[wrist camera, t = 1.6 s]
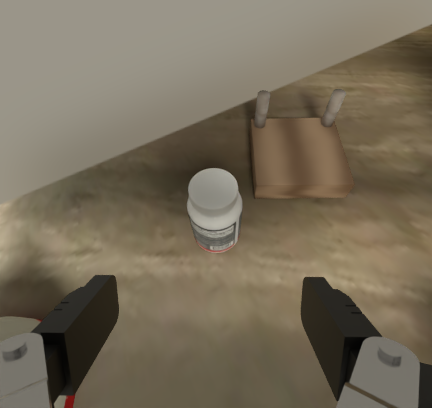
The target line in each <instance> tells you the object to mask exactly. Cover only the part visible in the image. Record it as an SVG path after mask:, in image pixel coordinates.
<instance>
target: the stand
mask: <svg viewBox="0 0 432 408" xmlns="http://www.w3.org/2000/svg"><path fill="white" fill-rule="evenodd" d="M345 95H346V92H345V91H344V90H342V89H335V90H334V91H333V93H332V95H331V98H330V100H329V103H328V105H327V108H326V111H325V113H324V116H323V118H279V119H266V117H267V111H268V105H269V99H270V93H269V92H268V91H260V92H258V96H257V104H256V113H255V119H251V123H250V133H249V136H250V149H251V162H252V174H253V187H254V198H345V197H346V196H347V195H348V193H349V192H350V190H351V189H352V188H353V186H354V185H355V183H354V180H353V177H352V174H351V171H350V168H349V165H348V162H347V159H346V155H345V152H344V149H343V146H342V143H341V140H340V137H339V134H338V131H337V128H336V125H335V122H334V120H335V118H336V115H337V113H338V111H339V109H340V106H341V104H342V102H343V100H344V97H345Z"/></svg>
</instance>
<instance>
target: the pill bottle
mask: <svg viewBox="0 0 432 408" xmlns="http://www.w3.org/2000/svg"><path fill="white" fill-rule="evenodd" d="M188 193H189V198H188V202H187V210H188V214H189V218H190V222H191V226H192V230H193V234H194V237H195V240H196V242H197V243H198V245H199V246H200V247H201V248H203V249H204V250H206V251H209V252H213V253H220V252H225V251H227V250H229V249H230V248H232V247H233V246H234V245H235V244H236V242H237V240H238V238H239V235H240V226H241V216H242V198H241V196H240V194H239V192H238V184H237V181H236V179H235V178H234V176H233V175H232V174H230V173H229V172H227V171H225V170H223V169H219V168H209V169H205V170H202V171H200V172H198V173H197V174H196V175H195V176H194V177H193V178H192V179H191V181H190V183H189V187H188Z"/></svg>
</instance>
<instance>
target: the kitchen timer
mask: <svg viewBox="0 0 432 408" xmlns="http://www.w3.org/2000/svg"><path fill="white" fill-rule="evenodd" d="M41 321H42V320H38V319H33V318H24V317H14V316H6V317H0V343H1V342H2V341H4V340H6V339H8V338H11V337H13V336H16V335H19V334H24V333H30V332H31V331H32V330H33V329H34V328H35V327H36V326H37V325H38V324H39V323H40V322H41ZM74 398H75V395H74V396H59V397H58V398H57V400H56V401H55V403H54V406H55V408H73V403H74Z"/></svg>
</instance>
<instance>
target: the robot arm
mask: <svg viewBox="0 0 432 408" xmlns="http://www.w3.org/2000/svg"><path fill="white" fill-rule="evenodd" d="M118 314H119V304H118V294H117V283H116V278H115V276H114V275H95V276H94V277H93V278H92V279H91V280H90V281H89V282H88V283H87V284H86V285H85V286H84V287H80V288H78V289H77V290H75V291H73V292H72V293H70V294H69V295H68V296H67V297H66V298H65V299H64V300H63V301H62V302H61V304H58V305H57V306H56V307H55V308H54V311H51V312H50V313H49V314H48V315H47V316H46V317H45V318H44V319H43V320H42V321H41V322H40V323H39V324H38V325H37V326H36V327H35V328H34V329H33V330H32V331H31V332H30V333H24V334H19V335H16V336H13V337H11V338H8V339H6V340H4V341H2V342H1V343H0V408H55V406H54V403H55V401H56V400H57V398H58V397H59V396H74V395H75V393H76V391H77V389H78V388H79V386H80V384H81V383H82V381H83V379H84V377H85V376H86V374H87V372H88V371H89V369H90V367H91V365H92V364H93V362H94V360H95V359H96V357H97V355H98V353H99V352H100V350H101V348H102V347H103V345H104V343H105V341H106V340H107V338H108V336H109V334H110V333H111V331H112V329H113V328H114V326H115V324H116V322H117V319H118ZM301 320H302V324H303V327H304V329H305V331H306V334H307V336H308V338H309V340H310V343H311V345H312V347H313V349H314V351H315V354H316V356H317V358H318V360H319V363H320V365H321V367H322V369H323V372H324V374H325V376H326V378H327V381H328V383H329V385H330V387H331V389H332V392H333V394H334V396H335V398H336V401H338V404H337V407H336V408H432V365H428V364H424V363H421V362H419V360H418V359H417V357H416V356H415V355H414V353H412V352H411V351H410V350H409V349H408V348H406V347H405V346H403V345H402V344H400V343H398V342H396V341H393V340H391V339H388V338H384V337H382V336H381V334H380V333H379V332H378V331H377V330H376V328H375V327H374V326H373V325H372V324H371V322H370V321H369V320H368V319H367V318H366V316H365V315H364V314H362V312H361V310H360V309H359V308H358V307H356V304H355V303H354V302H353V301H352V300H351V298H350V297H349V296H347V295H346V294H344V293H343V292H341V291H340V290H338V289H332V287H331V286H330V285H329V283H328V282H327V281H326V279H325V278H324V277H305V278H304V280H303V288H302V301H301Z"/></svg>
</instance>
